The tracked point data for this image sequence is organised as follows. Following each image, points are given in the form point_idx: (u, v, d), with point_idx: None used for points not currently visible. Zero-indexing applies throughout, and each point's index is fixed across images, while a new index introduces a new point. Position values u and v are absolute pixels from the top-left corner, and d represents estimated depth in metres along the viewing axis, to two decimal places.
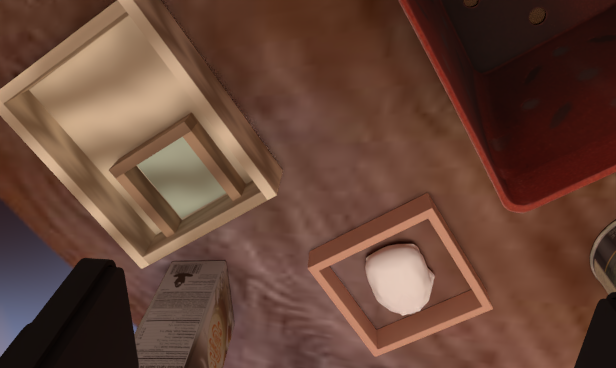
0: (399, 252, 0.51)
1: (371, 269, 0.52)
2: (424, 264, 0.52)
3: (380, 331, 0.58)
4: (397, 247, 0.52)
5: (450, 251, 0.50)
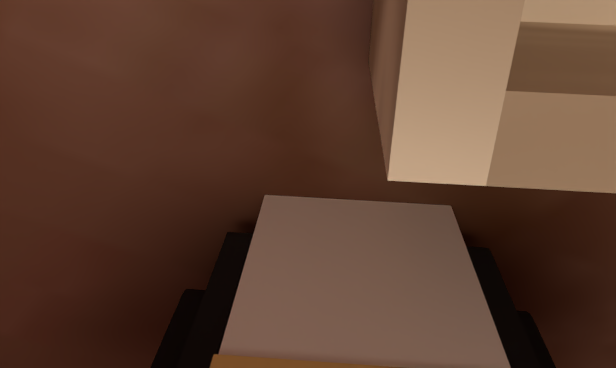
0: None
1: None
2: None
3: None
4: None
5: None
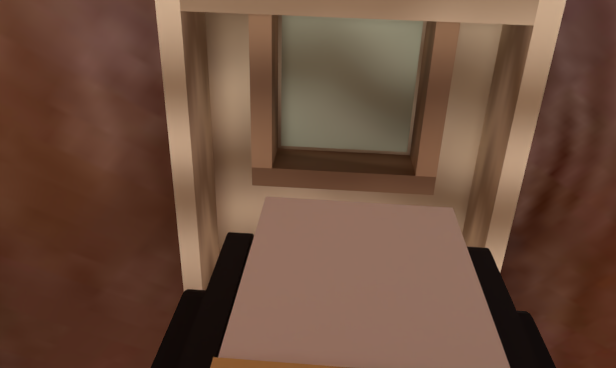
0: None
1: None
2: None
3: None
4: None
5: None
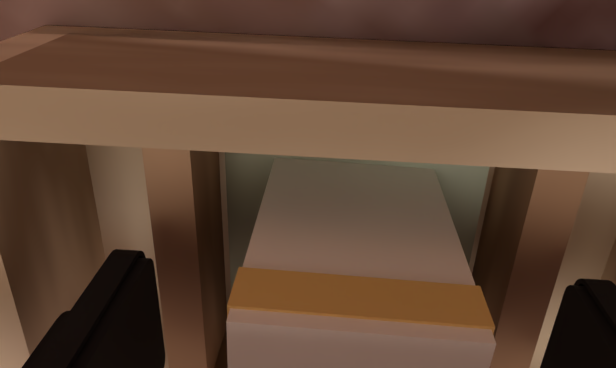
0: None
1: None
2: None
3: None
4: None
5: None
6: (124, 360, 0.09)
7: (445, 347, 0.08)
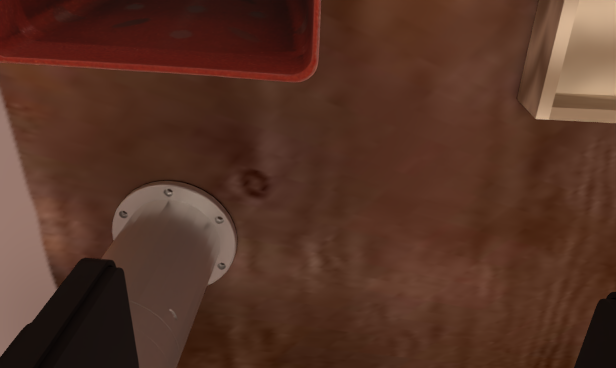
0: None
1: None
2: None
3: None
4: None
5: None
6: None
7: None
